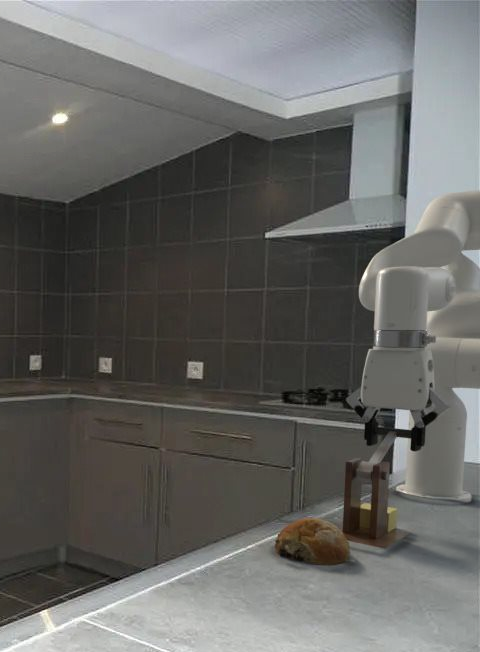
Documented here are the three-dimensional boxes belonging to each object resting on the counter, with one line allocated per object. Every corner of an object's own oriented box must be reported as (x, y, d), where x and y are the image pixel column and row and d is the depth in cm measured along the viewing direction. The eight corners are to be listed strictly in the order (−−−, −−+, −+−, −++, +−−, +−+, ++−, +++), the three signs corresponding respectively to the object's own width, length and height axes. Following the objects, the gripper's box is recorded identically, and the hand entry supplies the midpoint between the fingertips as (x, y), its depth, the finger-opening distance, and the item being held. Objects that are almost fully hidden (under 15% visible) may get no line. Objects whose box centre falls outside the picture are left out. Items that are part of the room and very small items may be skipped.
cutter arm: (377, 434, 124) (375, 422, 123) (416, 438, 120) (414, 426, 119) (344, 480, 116) (343, 468, 115) (385, 487, 111) (383, 474, 111)
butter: (364, 521, 121) (365, 502, 121) (396, 527, 118) (397, 508, 117) (354, 525, 119) (355, 507, 119) (388, 532, 115) (389, 513, 115)
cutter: (345, 526, 123) (349, 452, 122) (411, 539, 115) (415, 461, 114) (316, 540, 115) (319, 462, 114) (384, 556, 107) (388, 472, 106)
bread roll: (349, 596, 101) (377, 546, 100) (284, 565, 101) (311, 515, 100) (317, 571, 111) (341, 526, 110) (258, 543, 111) (282, 498, 110)
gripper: (466, 342, 116) (459, 451, 117) (352, 339, 129) (348, 438, 130) (452, 343, 111) (445, 457, 112) (335, 340, 124) (331, 443, 125)
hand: (393, 446), depth 121 cm, fingers closed on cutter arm, 6 cm apart
